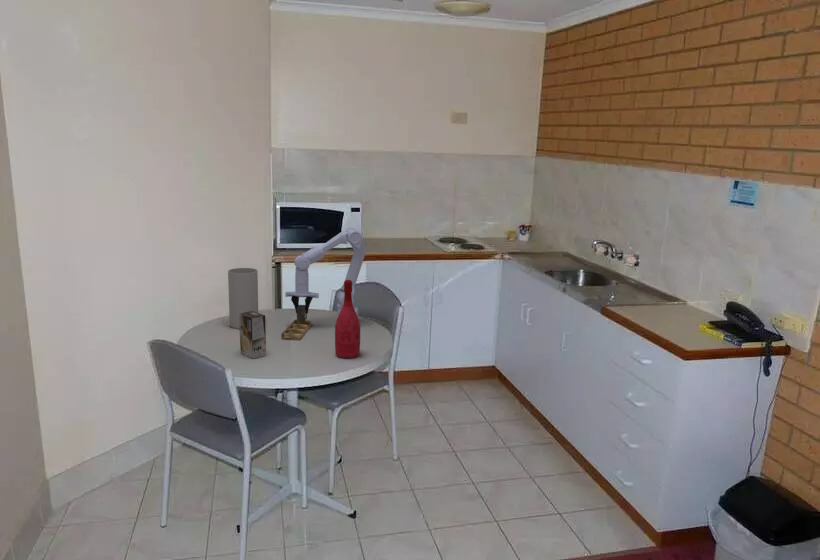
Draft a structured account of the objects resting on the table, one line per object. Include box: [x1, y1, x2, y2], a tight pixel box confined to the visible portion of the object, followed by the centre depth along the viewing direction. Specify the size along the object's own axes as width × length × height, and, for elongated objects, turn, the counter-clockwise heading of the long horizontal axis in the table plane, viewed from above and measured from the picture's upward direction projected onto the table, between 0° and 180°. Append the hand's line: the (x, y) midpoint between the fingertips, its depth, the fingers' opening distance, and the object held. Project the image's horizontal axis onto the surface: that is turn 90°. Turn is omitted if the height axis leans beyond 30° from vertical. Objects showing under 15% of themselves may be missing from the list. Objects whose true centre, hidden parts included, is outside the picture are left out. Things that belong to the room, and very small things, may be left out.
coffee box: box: [239, 311, 267, 359], centre depth 242 cm, size 9×6×16 cm
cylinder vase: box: [227, 267, 259, 330], centre depth 278 cm, size 12×12×25 cm
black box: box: [296, 304, 308, 321], centre depth 278 cm, size 4×5×6 cm
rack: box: [280, 319, 313, 341], centre depth 273 cm, size 8×22×2 cm, turn 176°
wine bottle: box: [334, 279, 361, 359], centre depth 243 cm, size 10×10×30 cm
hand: (302, 313), depth 279 cm, fingers closed on black box, 3 cm apart
